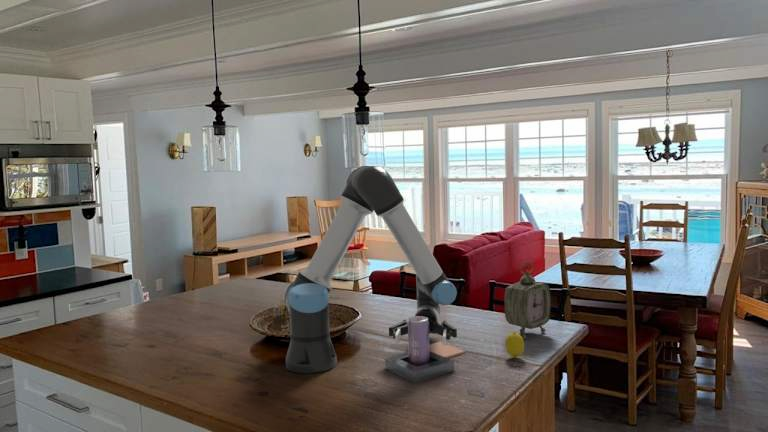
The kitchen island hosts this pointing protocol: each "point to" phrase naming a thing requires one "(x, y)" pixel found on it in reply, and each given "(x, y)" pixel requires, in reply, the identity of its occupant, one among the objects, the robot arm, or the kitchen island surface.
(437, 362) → the socket block
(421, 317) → the beverage can
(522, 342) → the lemon
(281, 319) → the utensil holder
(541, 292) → the tabletop clock
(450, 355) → the terracotta tile
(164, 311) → the kitchen island surface
